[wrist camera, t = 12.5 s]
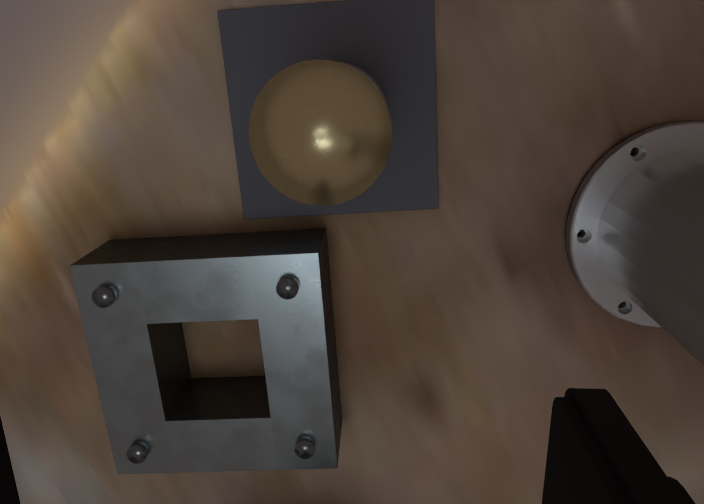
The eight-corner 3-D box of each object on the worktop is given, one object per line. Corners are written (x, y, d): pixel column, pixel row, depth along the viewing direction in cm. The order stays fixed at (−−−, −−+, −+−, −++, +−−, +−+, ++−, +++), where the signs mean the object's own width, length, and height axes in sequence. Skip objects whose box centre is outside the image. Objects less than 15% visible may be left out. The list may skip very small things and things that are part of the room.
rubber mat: (433, -6, 31) (433, -7, 31) (437, 206, 35) (438, 208, 35) (219, 11, 32) (217, 10, 32) (245, 217, 36) (244, 219, 35)
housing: (326, 228, 36) (316, 256, 30) (342, 420, 40) (336, 474, 35) (109, 240, 37) (63, 269, 31) (147, 427, 41) (113, 480, 36)
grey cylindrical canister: (385, 59, 32) (388, 54, 21) (389, 158, 34) (395, 201, 23) (287, 66, 33) (240, 65, 22) (296, 164, 34) (257, 209, 23)
